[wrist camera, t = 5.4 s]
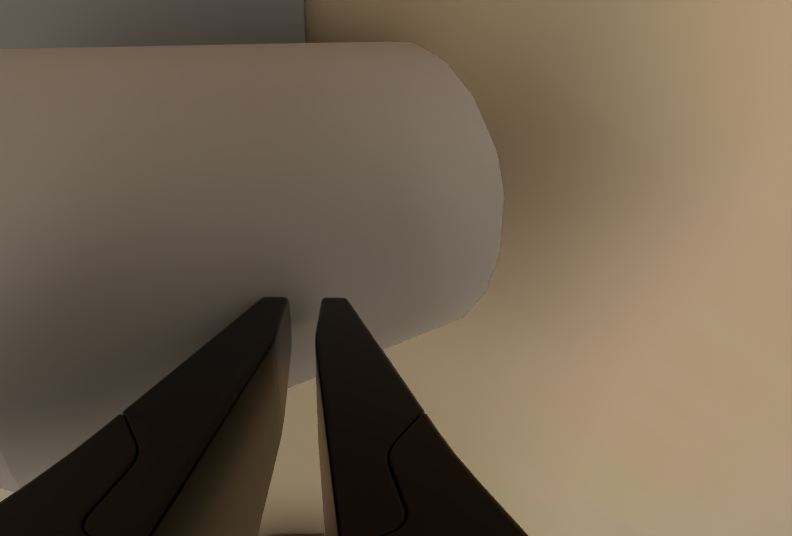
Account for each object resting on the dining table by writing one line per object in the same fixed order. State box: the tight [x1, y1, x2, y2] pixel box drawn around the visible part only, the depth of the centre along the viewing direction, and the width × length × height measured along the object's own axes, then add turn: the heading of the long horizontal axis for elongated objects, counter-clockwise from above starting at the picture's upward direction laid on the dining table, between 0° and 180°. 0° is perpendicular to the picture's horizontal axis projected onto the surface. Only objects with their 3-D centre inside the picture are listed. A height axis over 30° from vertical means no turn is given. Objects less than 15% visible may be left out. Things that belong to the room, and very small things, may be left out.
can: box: [0, 41, 504, 492], centre depth 12 cm, size 8×8×12 cm
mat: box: [0, 0, 306, 49], centre depth 17 cm, size 15×13×1 cm
